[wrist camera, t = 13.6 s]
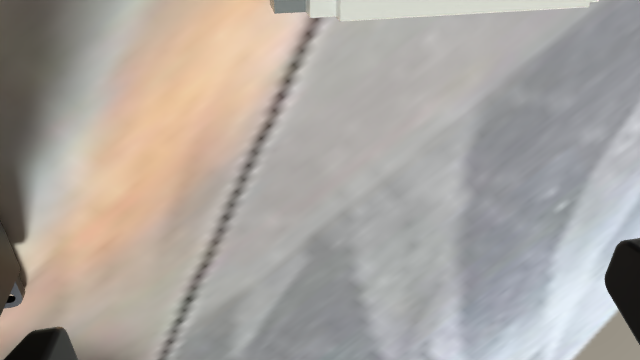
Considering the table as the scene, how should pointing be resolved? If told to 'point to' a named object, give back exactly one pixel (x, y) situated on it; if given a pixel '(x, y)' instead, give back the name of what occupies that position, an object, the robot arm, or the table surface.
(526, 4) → the gray tray
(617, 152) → the table surface
